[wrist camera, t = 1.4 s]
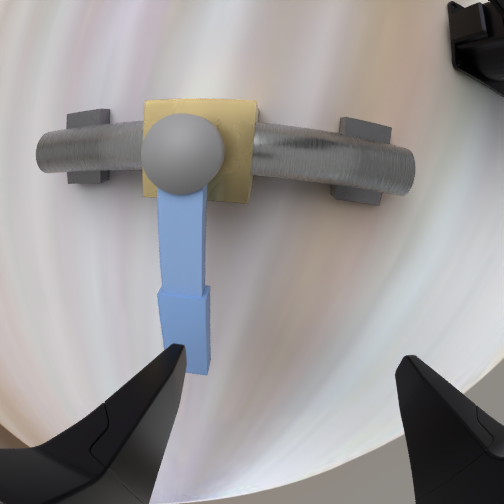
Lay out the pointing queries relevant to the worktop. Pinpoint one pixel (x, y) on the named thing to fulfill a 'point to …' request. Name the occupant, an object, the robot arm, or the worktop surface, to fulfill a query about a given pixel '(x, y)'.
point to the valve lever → (183, 227)
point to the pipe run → (237, 151)
